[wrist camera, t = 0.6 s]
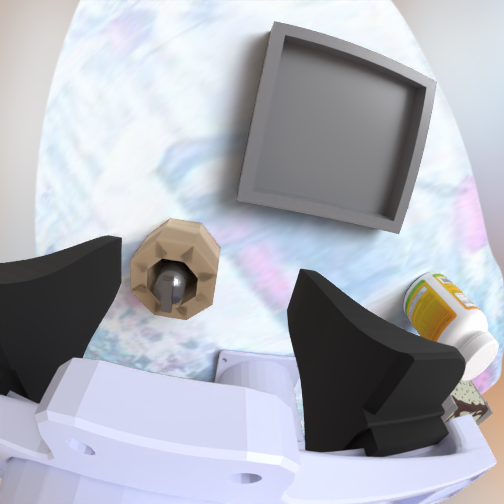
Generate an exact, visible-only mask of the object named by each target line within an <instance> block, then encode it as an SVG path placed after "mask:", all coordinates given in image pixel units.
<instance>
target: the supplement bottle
mask: <svg viewBox="0 0 504 504" xmlns="http://www.w3.org/2000/svg"><path fill="white" fill-rule="evenodd" d="M403 309H404V313H405V315H406V316H407V318H408V319H409V321H410V322H411V323H412V325H413V326H414V328H415V329H416V330H417V332H418V333H419V335H420V336H421V337H423V338H426V339H429V340H432V341H435V342H439V343H443V344H446V345H450V346H454V347H456V348H457V349H458V350H459V352H460V353H461V354H462V356H463V357H464V358H465V361H466V368H465V372H464V375H463V377H462V379H461V380H462V381H468V380H471V379H473V378H475V377H476V376H478V375H479V374H480V373H482V372H483V371H484V370H485V369H486V368H487V367H488V366H489V364H490V363H491V362H492V360H493V359H494V357H495V356H496V354H497V351H498V342H497V341H496V340H495V338H494V337H493V336H492V335H491V334H490V333H489V332H487V319H486V317H485V315H484V314H483V313H482V311H481V310H480V309H479V308H478V307H477V306H476V305H475V304H474V303H473V302H472V301H471V300H470V299H469V298H468V297H467V296H466V295H465V294H464V293H463V292H462V291H461V290H459V289H458V288H457V287H456V286H455V285H454V284H453V283H452V282H451V281H450V280H449V279H448V278H447V277H445V276H444V275H443V274H441V273H439V272H429V273H427V274H424V275H423V276H421V277H420V278H418V279H417V280H416V281H415V282H414V283H413V284H412V285H411V287H410V288H409V289H408V291H407V293H406V295H405V298H404V303H403Z"/></svg>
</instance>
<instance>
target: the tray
mask: <svg viewBox="0 0 504 504" xmlns="http://www.w3.org/2000/svg"><path fill="white" fill-rule="evenodd" d="M436 83H437V82H436V81H434V80H432V79H430V78H428V77H427V76H425V75H423V74H421V73H419V72H417V71H415V70H413V69H411V68H409V67H407V66H405V65H403V64H401V63H399V62H396V61H394V60H392V59H390V58H388V57H385V56H383V55H381V54H378V53H376V52H373V51H371V50H369V49H366V48H363V47H361V46H358V45H355V44H353V43H350V42H347V41H344V40H341V39H338V38H335V37H332V36H329V35H326V34H323V33H319V32H316V31H312V30H309V29H305V28H301V27H297V26H293V25H289V24H285V23H280V22H275V21H274V23H273V26H272V29H271V32H270V36H269V41H268V45H267V50H266V54H265V59H264V63H263V68H262V72H261V77H260V82H259V86H258V91H257V96H256V101H255V106H254V110H253V115H252V120H251V125H250V130H249V135H248V140H247V145H246V150H245V155H244V160H243V166H242V171H241V176H240V181H239V187H238V192H237V201H239V202H245V203H251V204H257V205H262V206H268V207H273V208H279V209H284V210H289V211H295V212H300V213H305V214H310V215H315V216H320V217H325V218H330V219H334V220H339V221H344V222H348V223H353V224H358V225H362V226H367V227H371V228H375V229H380V230H384V231H388V232H393V233H397V234H399V233H400V230H401V227H402V224H403V221H404V218H405V215H406V212H407V208H408V205H409V202H410V199H411V195H412V192H413V189H414V185H415V182H416V178H417V174H418V171H419V167H420V163H421V159H422V155H423V151H424V147H425V142H426V138H427V133H428V129H429V124H430V119H431V114H432V108H433V102H434V96H435V90H436Z"/></svg>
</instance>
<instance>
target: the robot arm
mask: <svg viewBox="0 0 504 504" xmlns="http://www.w3.org/2000/svg"><path fill="white" fill-rule="evenodd" d="M121 246H122V238H120V237H114V236H109V235H108V236H102V237H99V238H96V239H93V240H90V241H87V242H84V243H81V244H79V245H76V246H73V247H70V248H67V249H64V250H61V251H58V252H55V253H52V254H48V255H45V256H41V257H36V258H32V259H27V260H21V261H15V262H7V263H0V477H1V478H2V481H1V484H0V504H438V503H440V502H442V501H444V500H446V499H448V498H450V497H452V496H453V495H455V494H457V493H458V492H460V491H461V490H463V489H464V488H465V487H467V486H468V485H470V484H471V483H472V482H474V481H475V480H476V479H478V478H479V477H480V476H482V475H483V474H484V473H486V472H487V471H488V470H489V469H490V468H492V467H493V466H494V465H495V464H496V462H497V461H496V459H495V457H494V455H493V453H492V451H491V450H490V448H489V446H488V444H487V442H486V440H485V438H484V436H483V435H482V433H481V431H480V429H479V427H478V426H477V424H476V422H475V420H474V419H473V417H472V415H471V414H466V415H463V416H459V417H456V418H453V419H450V420H448V421H447V422H445V423H444V422H443V420H442V418H441V416H443V415H444V414H445V410H444V408H443V406H442V404H443V402H444V401H445V400H446V399H447V398H448V396H449V395H450V394H451V393H452V391H453V390H454V389H455V388H456V386H457V385H458V383H459V382H460V380H461V379H462V377H463V375H464V372H465V368H466V361H465V358H464V357H463V356H462V354H461V353H460V352H459V350H458V349H457V348H456V347H454V346H450V345H446V344H443V343H439V342H435V341H432V340H429V339H426V338H423V337H420V336H418V335H415V334H413V333H410V332H408V331H405V330H403V329H401V328H399V327H397V326H395V325H393V324H391V323H389V322H387V321H385V320H383V319H382V318H380V317H378V316H377V315H375V314H373V313H372V312H370V311H368V310H367V309H365V308H364V307H362V306H361V305H360V304H358V303H357V302H356V301H354V300H353V299H351V298H350V297H349V296H347V295H346V294H345V293H344V292H342V291H341V290H340V289H339V288H337V287H336V286H335V285H334V284H332V283H331V282H330V281H329V280H327V279H326V278H325V277H323V276H322V275H321V274H319V273H318V272H316V271H312V270H306V269H300V271H299V275H298V278H297V281H296V284H295V287H294V290H293V294H292V297H291V300H290V303H289V306H288V309H287V317H288V328H289V334H290V338H291V342H292V346H293V350H294V354H295V357H289V356H277V355H266V354H255V353H246V352H237V351H229V350H222V351H221V352H220V353H219V359H218V365H217V370H216V376H215V382H214V383H212V382H205V381H198V380H192V379H186V378H180V377H175V376H169V375H164V374H159V373H154V372H150V371H145V370H140V369H136V368H132V367H128V366H123V365H119V364H116V363H112V362H108V361H104V360H95V359H84V358H83V356H84V353H85V351H86V348H87V346H88V344H89V342H90V340H91V338H92V336H93V335H94V333H95V331H96V329H97V328H98V326H99V324H100V323H101V321H102V319H103V318H104V316H105V314H106V313H107V311H108V309H109V308H110V306H111V304H112V303H113V301H114V299H115V296H116V294H117V292H118V289H119V287H120V285H121ZM223 358H225V359H223ZM299 376H300V380H301V388H302V398H303V410H304V427H305V441H304V437H303V432H302V426H301V421H300V416H299V410H298V405H297V400H296V395H295V389H294V387H295V385H296V383H297V381H298V378H299Z"/></svg>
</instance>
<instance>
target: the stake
mask: <svg viewBox="0 0 504 504" xmlns="http://www.w3.org/2000/svg"><path fill="white" fill-rule="evenodd" d="M190 270H191V269H190V268H189V267H188V266H187V265H186V264H185V262H181V261H175V260H169V259H167V260H166V262H165V264H164V266H163V268H162V270H161V273H160V275H159V277H158V279H157V281H156V283H155V286H154V294H155V296H156V297H157V299H158V300H160V301H161V312H165V313H171V310H172V305H173V304H176V303H178V302H179V301H180V300H181V299H182V297H183V294H184V290H185V287H186V283H187V280H188V277H189V273H190Z"/></svg>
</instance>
